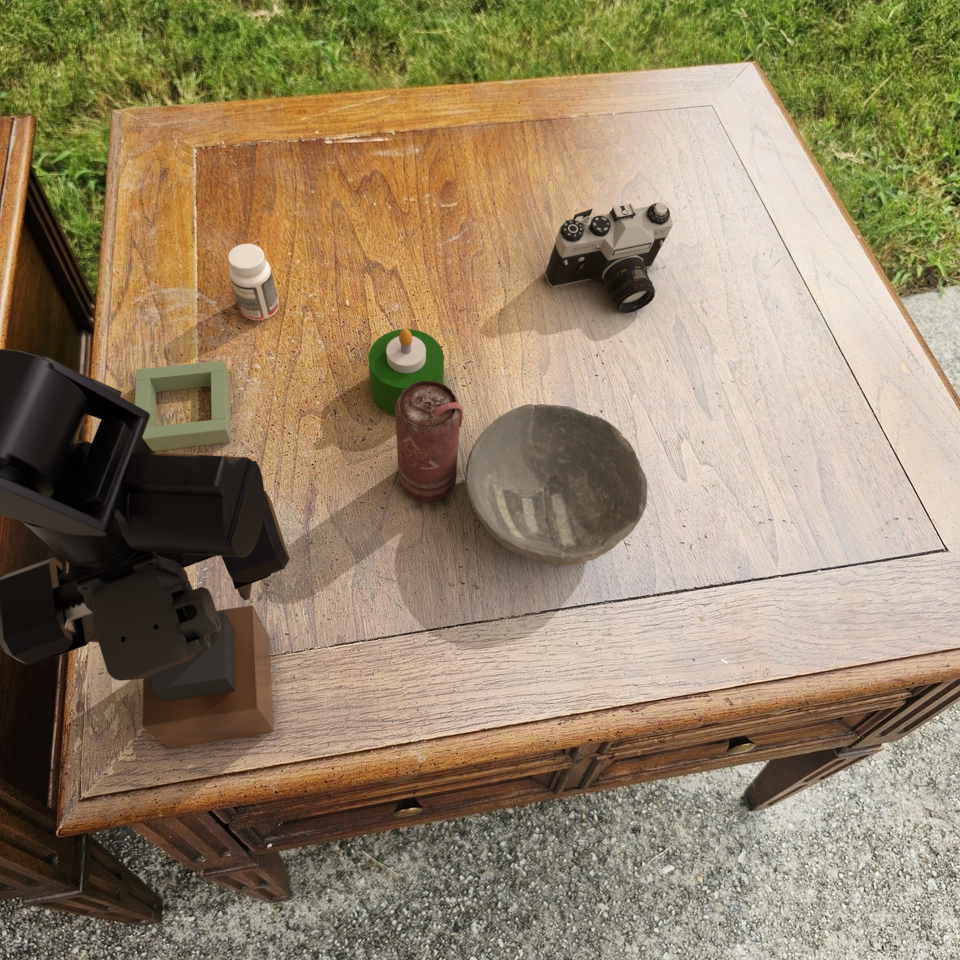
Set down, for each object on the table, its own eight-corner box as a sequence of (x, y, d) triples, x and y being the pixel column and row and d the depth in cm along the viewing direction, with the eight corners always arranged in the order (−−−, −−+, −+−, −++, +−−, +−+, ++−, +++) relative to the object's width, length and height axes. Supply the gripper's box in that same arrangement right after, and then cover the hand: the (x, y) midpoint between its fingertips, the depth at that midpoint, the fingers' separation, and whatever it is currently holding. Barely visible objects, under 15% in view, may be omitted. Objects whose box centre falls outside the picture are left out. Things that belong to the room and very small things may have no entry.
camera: (567, 331, 99) (586, 285, 89) (539, 260, 102) (555, 208, 93) (671, 308, 102) (701, 261, 92) (641, 240, 105) (666, 187, 96)
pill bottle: (269, 287, 98) (257, 235, 91) (285, 312, 96) (274, 261, 89) (233, 301, 96) (217, 249, 89) (249, 327, 94) (234, 275, 87)
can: (462, 500, 84) (468, 426, 72) (402, 507, 83) (398, 433, 71) (453, 453, 87) (458, 373, 75) (396, 459, 86) (391, 380, 74)
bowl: (447, 454, 87) (449, 412, 80) (599, 430, 90) (613, 387, 83) (484, 605, 78) (490, 571, 71) (651, 572, 81) (672, 537, 74)
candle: (433, 355, 94) (434, 295, 85) (451, 410, 90) (453, 353, 81) (364, 367, 92) (358, 307, 84) (379, 424, 88) (374, 367, 80)
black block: (164, 702, 64) (151, 690, 61) (165, 636, 66) (153, 621, 63) (235, 691, 64) (226, 678, 61) (233, 626, 67) (224, 611, 64)
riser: (169, 749, 69) (141, 727, 63) (171, 651, 74) (145, 620, 67) (274, 731, 71) (257, 708, 64) (269, 636, 75) (253, 604, 68)
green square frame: (231, 442, 86) (226, 429, 84) (140, 453, 85) (132, 440, 82) (229, 374, 91) (224, 360, 89) (142, 383, 89) (135, 369, 87)
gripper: (-55, 703, 43) (81, 764, 56) (280, 577, 46) (332, 663, 59) (-64, 534, 48) (62, 626, 61) (236, 432, 51) (293, 541, 64)
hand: (188, 616), depth 61 cm, fingers open, 9 cm apart
